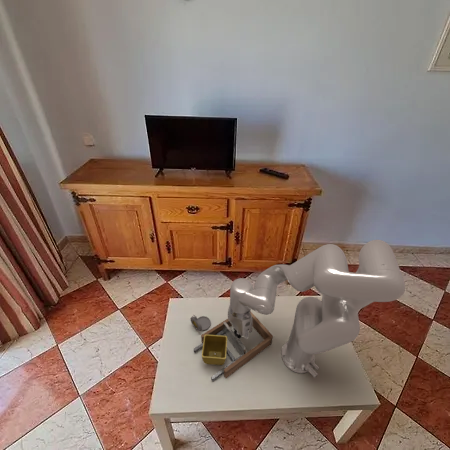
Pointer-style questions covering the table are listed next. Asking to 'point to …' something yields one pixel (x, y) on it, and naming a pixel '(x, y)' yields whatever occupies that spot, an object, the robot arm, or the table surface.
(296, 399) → the table surface
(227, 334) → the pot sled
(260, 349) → the frame
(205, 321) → the pocket watch
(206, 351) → the flower pot
